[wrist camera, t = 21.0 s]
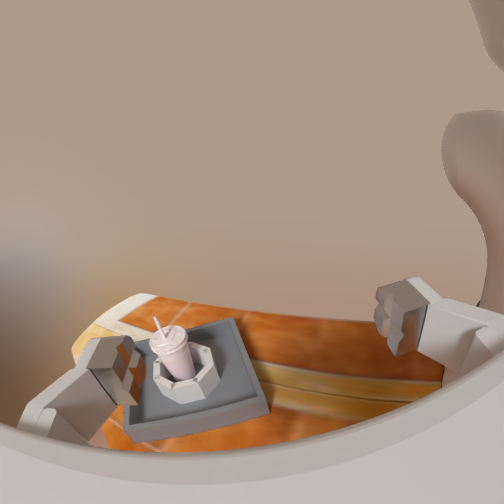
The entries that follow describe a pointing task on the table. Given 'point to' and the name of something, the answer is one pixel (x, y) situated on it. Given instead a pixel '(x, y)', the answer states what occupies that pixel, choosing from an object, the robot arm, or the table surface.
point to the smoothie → (173, 351)
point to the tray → (197, 387)
